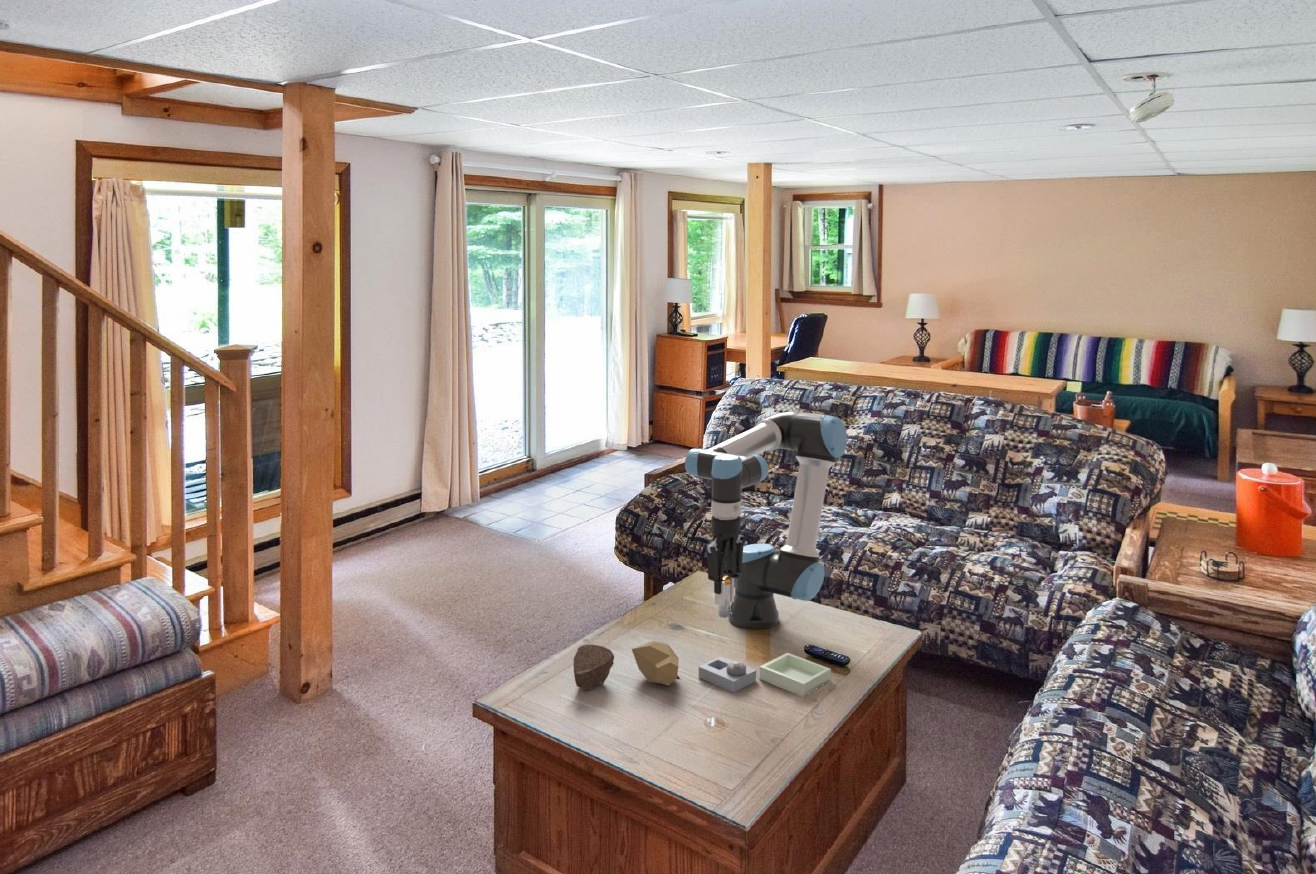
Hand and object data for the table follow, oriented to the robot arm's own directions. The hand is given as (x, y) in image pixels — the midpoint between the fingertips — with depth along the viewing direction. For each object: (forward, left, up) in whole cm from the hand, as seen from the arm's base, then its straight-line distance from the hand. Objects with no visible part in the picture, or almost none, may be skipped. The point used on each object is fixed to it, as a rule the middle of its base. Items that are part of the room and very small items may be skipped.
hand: (724, 602), depth 244 cm
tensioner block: (+2, -1, -20) cm, 21 cm away
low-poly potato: (-9, -15, -21) cm, 27 cm away
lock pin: (0, 0, -4) cm, 4 cm away
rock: (-20, -29, -21) cm, 41 cm away
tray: (+15, +11, -20) cm, 28 cm away
